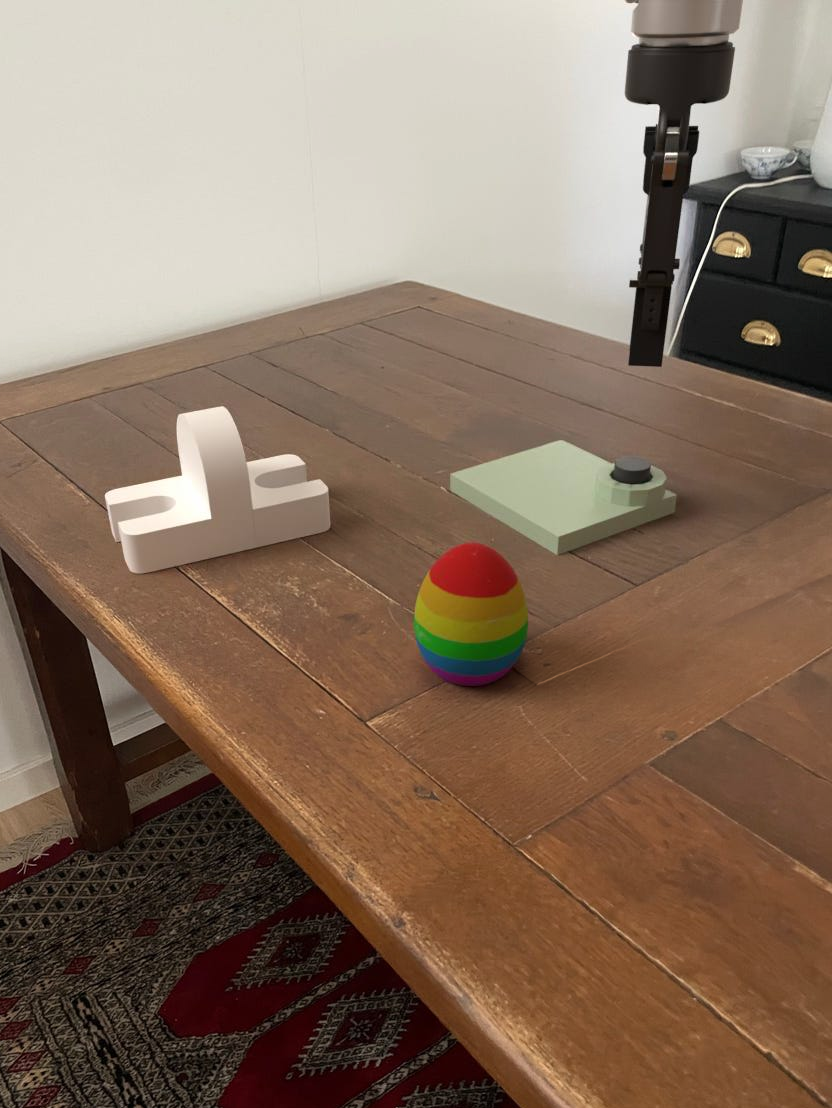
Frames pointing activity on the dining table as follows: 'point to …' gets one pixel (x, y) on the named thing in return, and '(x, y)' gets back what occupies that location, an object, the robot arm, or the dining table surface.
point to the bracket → (215, 500)
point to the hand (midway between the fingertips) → (645, 356)
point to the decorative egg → (471, 616)
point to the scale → (562, 495)
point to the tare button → (631, 470)
